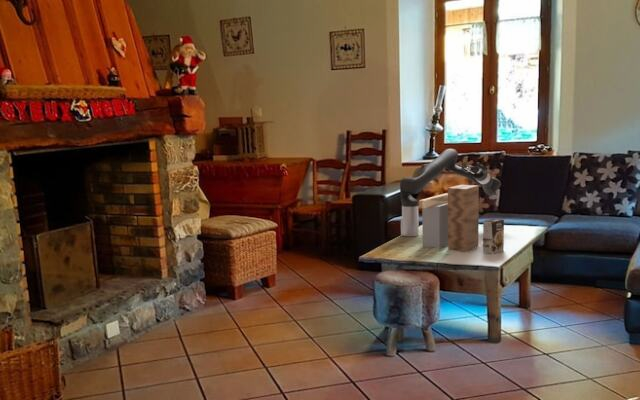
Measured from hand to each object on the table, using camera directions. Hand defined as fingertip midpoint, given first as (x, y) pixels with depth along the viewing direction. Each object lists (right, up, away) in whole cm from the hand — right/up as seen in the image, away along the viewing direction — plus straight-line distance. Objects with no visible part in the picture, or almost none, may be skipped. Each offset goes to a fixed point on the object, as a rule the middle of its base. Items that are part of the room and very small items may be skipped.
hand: (470, 163), depth 338 cm
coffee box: (+4, -46, -30) cm, 55 cm away
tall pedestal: (-9, -45, -21) cm, 50 cm away
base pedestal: (-21, -44, -13) cm, 51 cm away
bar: (-22, -22, -16) cm, 35 cm away
